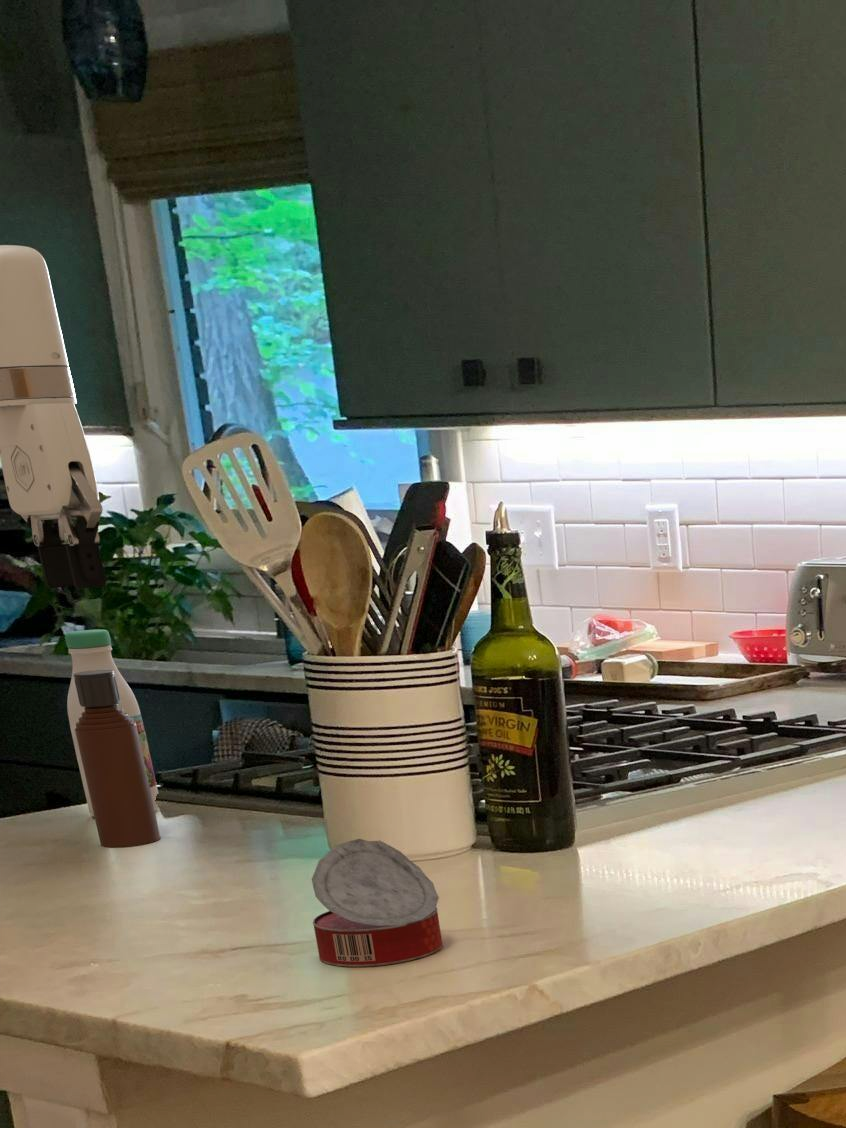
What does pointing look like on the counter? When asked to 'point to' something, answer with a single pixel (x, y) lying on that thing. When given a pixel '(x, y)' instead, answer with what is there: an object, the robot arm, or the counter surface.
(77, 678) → the cap
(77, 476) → the robot arm
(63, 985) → the counter surface
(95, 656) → the milk bottle
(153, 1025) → the counter surface
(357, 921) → the canned food
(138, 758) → the sauce bottle
